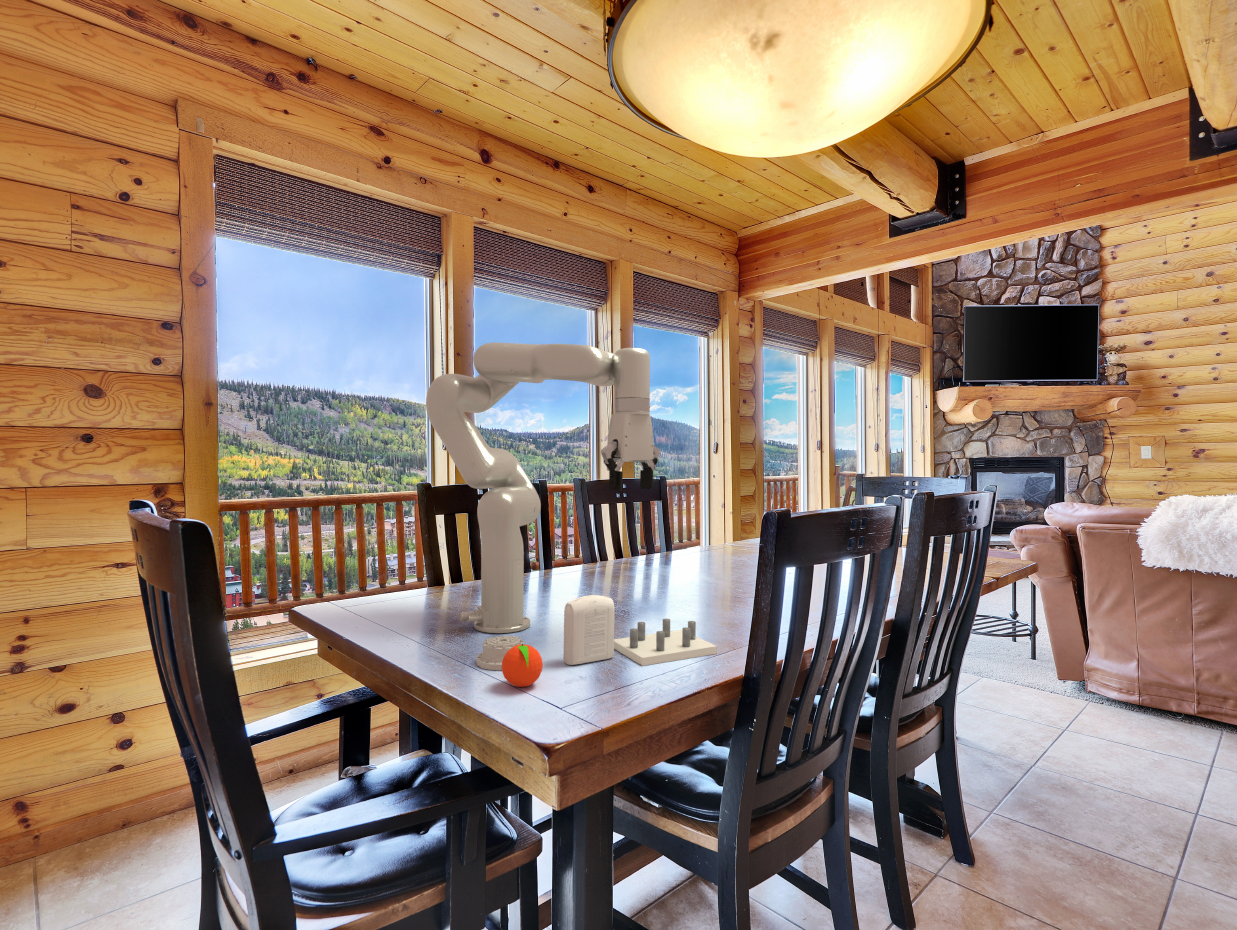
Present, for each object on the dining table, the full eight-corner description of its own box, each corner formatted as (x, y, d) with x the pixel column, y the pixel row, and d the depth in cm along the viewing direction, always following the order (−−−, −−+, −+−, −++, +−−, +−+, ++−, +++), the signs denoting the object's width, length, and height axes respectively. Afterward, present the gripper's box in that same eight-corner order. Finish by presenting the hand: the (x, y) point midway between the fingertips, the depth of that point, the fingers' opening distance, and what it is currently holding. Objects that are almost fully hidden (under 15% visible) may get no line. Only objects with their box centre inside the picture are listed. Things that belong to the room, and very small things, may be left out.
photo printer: (605, 652, 129) (606, 590, 128) (617, 658, 125) (618, 594, 125) (560, 661, 123) (560, 596, 123) (571, 668, 119) (571, 601, 119)
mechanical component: (465, 665, 121) (505, 676, 116) (465, 642, 121) (505, 651, 115) (501, 652, 129) (540, 661, 124) (501, 630, 129) (540, 638, 124)
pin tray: (642, 665, 121) (642, 639, 121) (611, 647, 132) (611, 622, 132) (716, 653, 129) (717, 628, 128) (681, 636, 140) (681, 613, 140)
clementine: (548, 692, 107) (548, 650, 107) (506, 697, 105) (507, 654, 105) (537, 676, 115) (537, 636, 114) (498, 681, 112) (498, 640, 112)
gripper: (645, 411, 144) (644, 487, 145) (589, 406, 132) (589, 490, 132) (671, 409, 139) (671, 488, 140) (616, 404, 127) (616, 492, 127)
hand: (631, 489), depth 136 cm, fingers open, 9 cm apart
